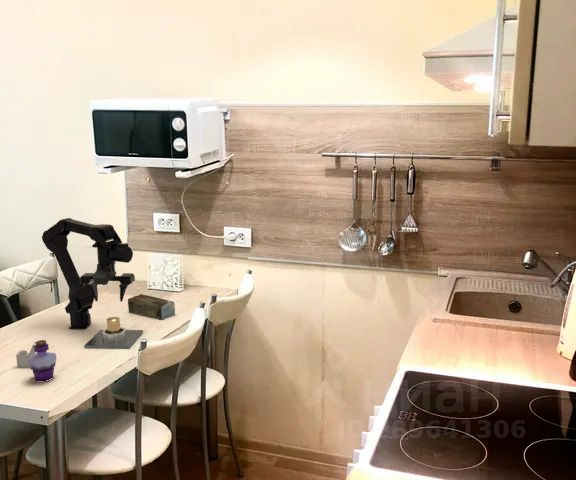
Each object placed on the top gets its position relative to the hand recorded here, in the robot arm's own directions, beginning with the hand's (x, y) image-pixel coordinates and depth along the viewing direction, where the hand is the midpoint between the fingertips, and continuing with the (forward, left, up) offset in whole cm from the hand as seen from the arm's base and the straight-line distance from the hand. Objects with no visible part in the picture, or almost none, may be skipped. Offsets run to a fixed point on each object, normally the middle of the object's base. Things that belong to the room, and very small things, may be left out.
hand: (109, 301), depth 230 cm
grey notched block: (-16, -32, -12) cm, 38 cm away
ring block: (+4, -8, -12) cm, 15 cm away
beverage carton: (+9, +22, -12) cm, 27 cm away
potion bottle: (-7, -41, -12) cm, 43 cm away
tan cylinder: (+4, -8, -11) cm, 14 cm away
